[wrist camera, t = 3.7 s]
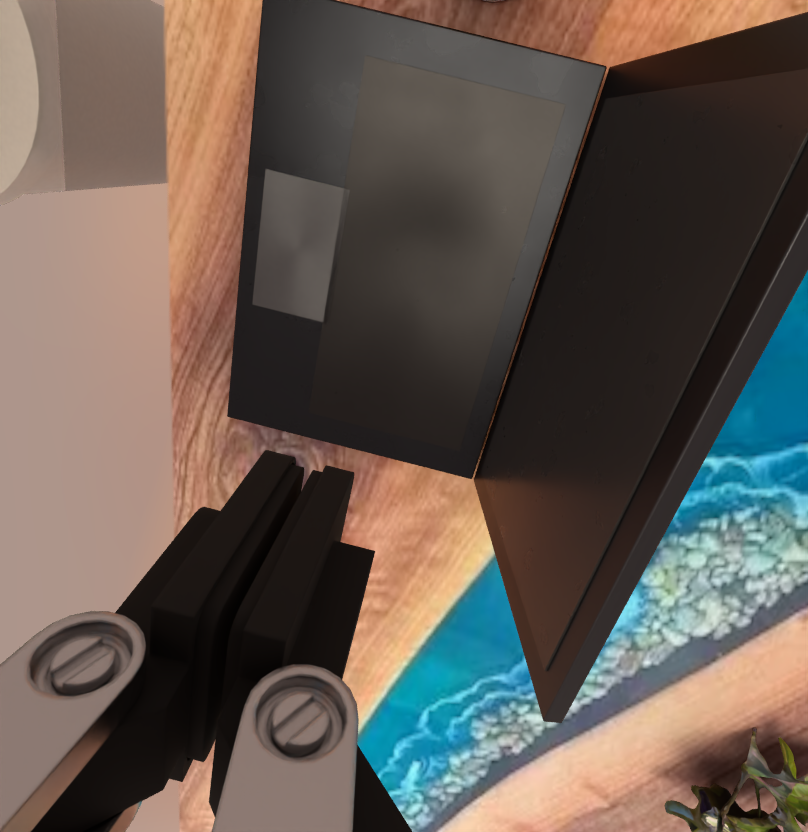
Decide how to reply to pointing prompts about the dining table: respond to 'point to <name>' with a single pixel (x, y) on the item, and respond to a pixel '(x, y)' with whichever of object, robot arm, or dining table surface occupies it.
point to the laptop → (395, 225)
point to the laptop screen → (644, 330)
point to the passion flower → (734, 828)
